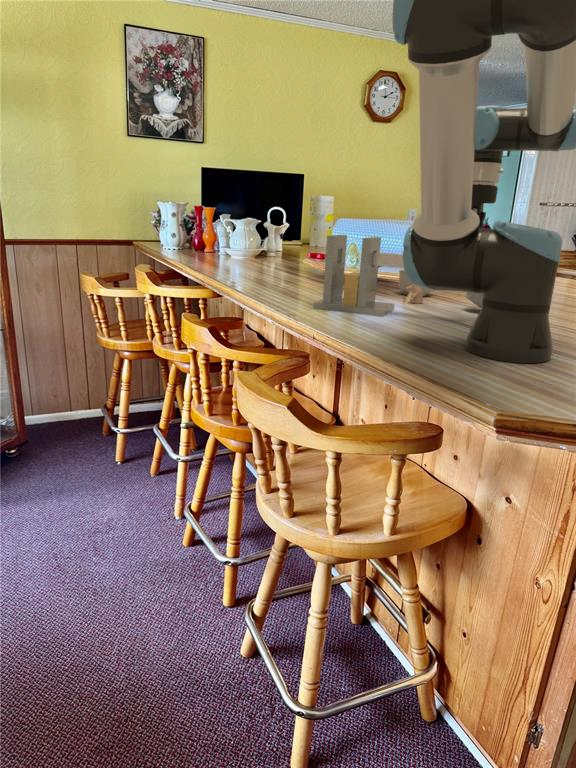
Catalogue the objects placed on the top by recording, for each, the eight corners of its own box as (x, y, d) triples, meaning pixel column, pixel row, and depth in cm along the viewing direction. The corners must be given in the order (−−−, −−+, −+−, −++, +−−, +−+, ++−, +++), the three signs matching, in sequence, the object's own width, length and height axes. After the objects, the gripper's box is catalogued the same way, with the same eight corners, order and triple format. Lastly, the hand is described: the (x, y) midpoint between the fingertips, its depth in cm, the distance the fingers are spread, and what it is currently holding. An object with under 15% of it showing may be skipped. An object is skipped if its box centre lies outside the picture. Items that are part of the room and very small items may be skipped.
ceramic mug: (488, 319, 142) (511, 299, 138) (464, 302, 141) (486, 281, 136) (487, 299, 150) (508, 280, 145) (464, 283, 149) (485, 263, 144)
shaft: (474, 276, 124) (477, 258, 123) (371, 267, 133) (372, 250, 132) (476, 275, 127) (479, 257, 126) (375, 266, 136) (376, 250, 135)
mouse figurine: (434, 305, 151) (437, 281, 149) (406, 304, 151) (409, 280, 149) (429, 302, 156) (432, 278, 154) (402, 301, 156) (404, 277, 154)
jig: (382, 316, 131) (390, 240, 125) (313, 308, 137) (318, 235, 132) (393, 309, 141) (401, 238, 136) (329, 301, 148) (333, 234, 142)
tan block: (356, 305, 135) (358, 276, 133) (342, 304, 136) (345, 274, 134) (364, 301, 142) (366, 273, 139) (351, 300, 143) (353, 272, 141)
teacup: (426, 299, 160) (430, 272, 158) (391, 295, 165) (394, 268, 163) (439, 294, 172) (442, 268, 169) (406, 290, 177) (409, 265, 174)
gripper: (495, 182, 110) (478, 295, 118) (500, 187, 127) (484, 285, 134) (458, 181, 113) (443, 291, 120) (467, 186, 130) (453, 282, 137)
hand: (465, 288), depth 127 cm, fingers open, 6 cm apart
